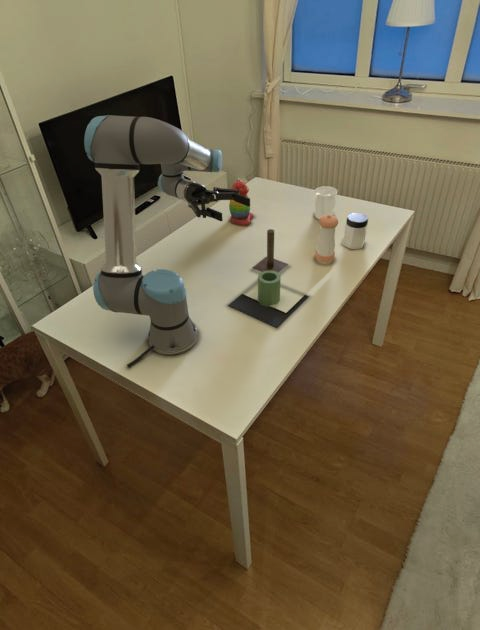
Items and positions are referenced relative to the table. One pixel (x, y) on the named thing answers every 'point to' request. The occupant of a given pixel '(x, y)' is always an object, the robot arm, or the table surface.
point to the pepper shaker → (326, 239)
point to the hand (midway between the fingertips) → (235, 209)
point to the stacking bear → (240, 206)
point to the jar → (355, 230)
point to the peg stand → (270, 257)
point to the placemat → (263, 310)
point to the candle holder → (325, 201)
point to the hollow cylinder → (269, 288)
